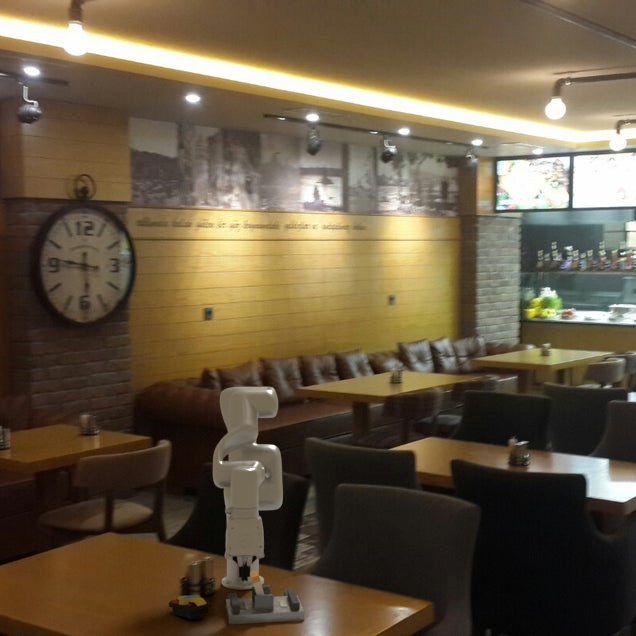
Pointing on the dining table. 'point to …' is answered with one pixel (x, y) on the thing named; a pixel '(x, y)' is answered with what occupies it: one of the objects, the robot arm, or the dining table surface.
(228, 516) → the robot arm
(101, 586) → the dining table surface
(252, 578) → the lever
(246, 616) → the panel
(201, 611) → the black basket
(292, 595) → the pair of grey posts
